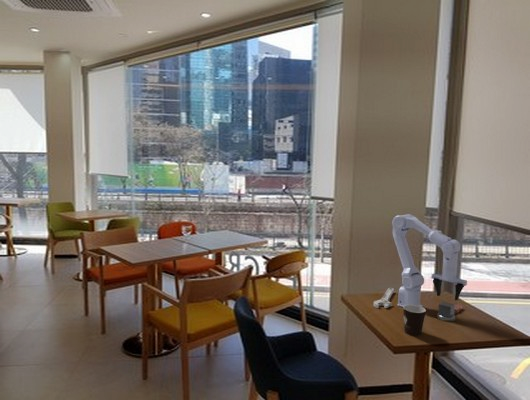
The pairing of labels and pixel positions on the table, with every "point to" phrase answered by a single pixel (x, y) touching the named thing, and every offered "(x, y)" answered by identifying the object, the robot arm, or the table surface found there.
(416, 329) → the coffee mug
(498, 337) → the table surface
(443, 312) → the socket
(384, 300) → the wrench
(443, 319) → the ratchet
